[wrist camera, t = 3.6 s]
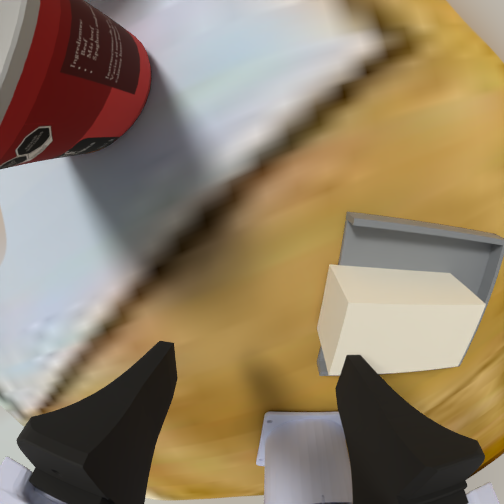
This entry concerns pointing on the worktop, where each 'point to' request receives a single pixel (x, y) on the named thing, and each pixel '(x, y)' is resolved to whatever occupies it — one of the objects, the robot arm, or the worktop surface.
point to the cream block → (396, 319)
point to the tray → (421, 253)
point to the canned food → (65, 80)
